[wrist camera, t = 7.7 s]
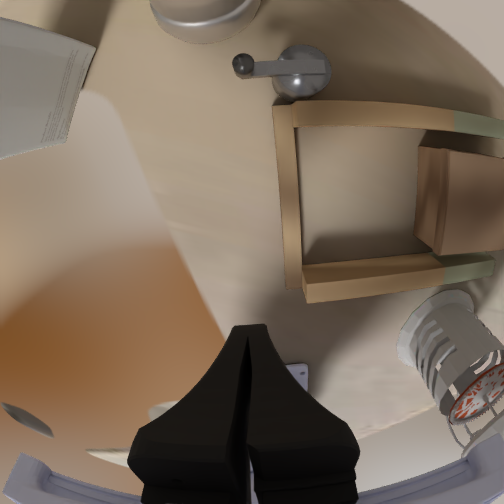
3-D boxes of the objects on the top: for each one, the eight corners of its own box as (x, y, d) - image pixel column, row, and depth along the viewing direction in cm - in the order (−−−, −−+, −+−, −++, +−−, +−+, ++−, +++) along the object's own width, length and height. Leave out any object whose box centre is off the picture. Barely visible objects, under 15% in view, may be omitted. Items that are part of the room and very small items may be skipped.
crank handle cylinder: (318, 101, 18) (345, 88, 12) (241, 106, 18) (235, 93, 12) (314, 60, 17) (338, 33, 11) (236, 64, 17) (229, 36, 11)
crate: (473, 232, 21) (503, 250, 17) (411, 234, 22) (439, 256, 17) (480, 152, 19) (515, 160, 14) (416, 144, 19) (449, 149, 15)
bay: (474, 261, 22) (492, 275, 19) (285, 284, 23) (289, 305, 20) (483, 119, 17) (506, 121, 15) (271, 107, 18) (274, 102, 15)
